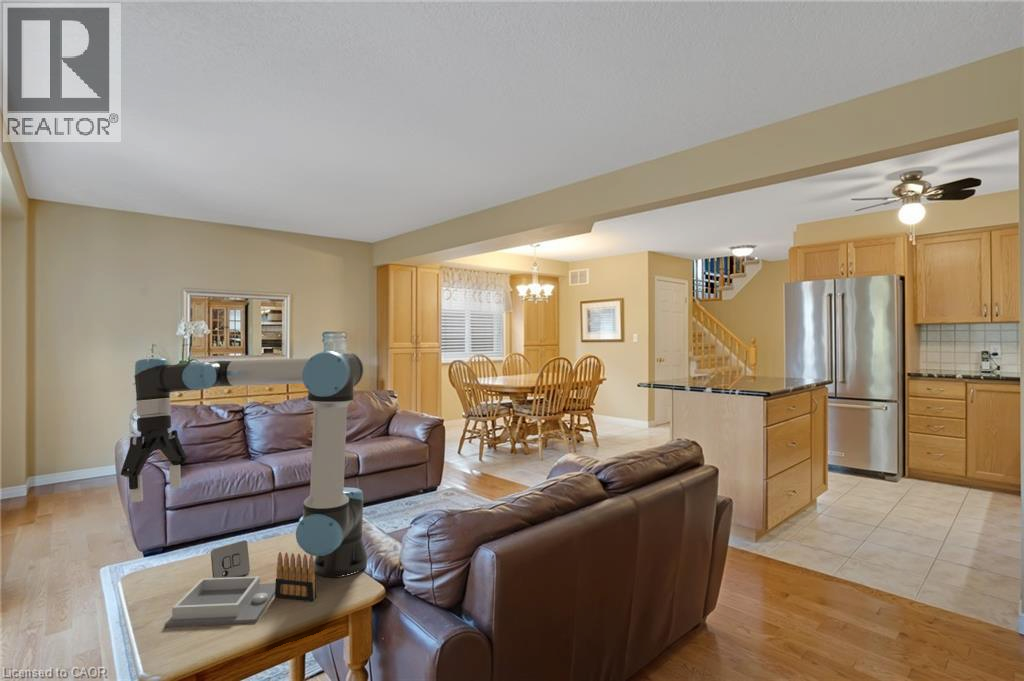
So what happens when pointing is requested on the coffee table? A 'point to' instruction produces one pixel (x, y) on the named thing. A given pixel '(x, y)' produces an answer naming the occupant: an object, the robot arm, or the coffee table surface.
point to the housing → (222, 602)
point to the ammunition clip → (295, 579)
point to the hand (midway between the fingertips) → (157, 494)
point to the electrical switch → (230, 560)
